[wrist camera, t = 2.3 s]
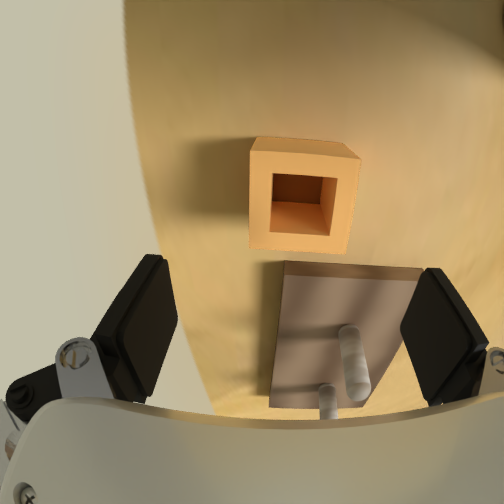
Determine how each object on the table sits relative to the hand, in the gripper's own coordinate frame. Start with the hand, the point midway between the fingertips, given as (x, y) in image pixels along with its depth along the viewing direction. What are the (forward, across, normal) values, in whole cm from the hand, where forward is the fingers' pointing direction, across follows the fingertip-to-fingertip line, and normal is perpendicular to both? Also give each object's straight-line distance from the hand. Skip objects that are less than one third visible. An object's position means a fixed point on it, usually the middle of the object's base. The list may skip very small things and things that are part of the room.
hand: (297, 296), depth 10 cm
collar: (+12, -1, -1) cm, 12 cm away
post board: (+12, -7, +17) cm, 22 cm away
